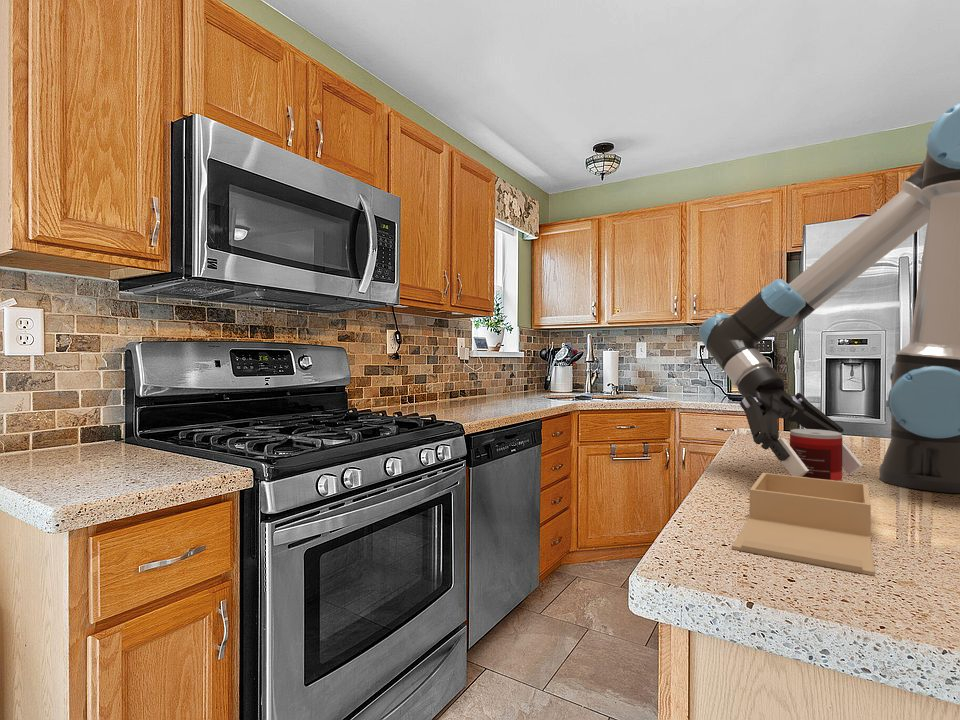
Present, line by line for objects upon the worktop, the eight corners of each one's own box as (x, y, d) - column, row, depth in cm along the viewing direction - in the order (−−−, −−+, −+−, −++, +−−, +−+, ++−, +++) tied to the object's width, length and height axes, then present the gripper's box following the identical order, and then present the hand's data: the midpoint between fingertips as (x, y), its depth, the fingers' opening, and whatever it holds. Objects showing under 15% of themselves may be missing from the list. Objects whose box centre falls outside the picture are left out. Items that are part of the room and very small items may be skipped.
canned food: (826, 490, 96) (826, 429, 96) (852, 502, 88) (853, 435, 88) (781, 489, 97) (781, 428, 97) (803, 501, 89) (803, 434, 89)
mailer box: (762, 499, 90) (762, 472, 90) (867, 513, 82) (867, 484, 82) (731, 549, 66) (731, 512, 66) (874, 576, 58) (874, 534, 58)
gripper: (788, 389, 111) (863, 479, 97) (694, 392, 103) (761, 490, 89) (812, 364, 106) (894, 455, 92) (716, 364, 98) (790, 464, 84)
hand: (829, 472), depth 90 cm, fingers open, 12 cm apart
